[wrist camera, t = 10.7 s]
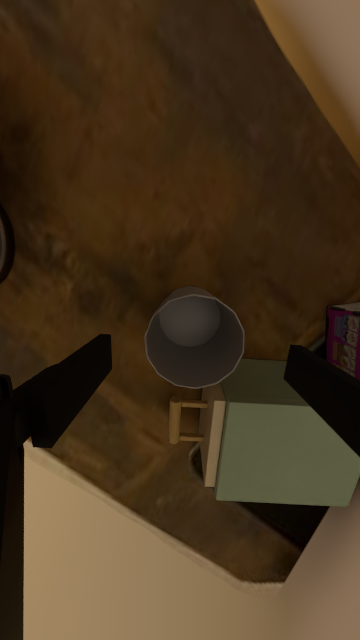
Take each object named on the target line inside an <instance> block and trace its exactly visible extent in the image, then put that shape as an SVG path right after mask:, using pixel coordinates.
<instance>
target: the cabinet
mask: <svg viewBox="0 0 360 640" xmlns="http://www.w3.org/2000/svg"><path fill="white" fill-rule="evenodd" d="M286 364H287V361H275V360H256V359H240V361H239V363H238V365H237V366H236V368H235V370H234V372H232V373H231V374H230V375H228V376H227V377H226V378H224V379H223V380H222V381H220V385H221V388H222V390H223V393H224V396H225V399H226V403H227V406H226V413H225V420H224V428H223V435H222V443H221V450H220V452H219V460H218V467H217V474H216V482H215V487H214V490H215V497H216V500H226V501H245V502H265V503H284V504H304V505H323V506H342V507H347V506H348V504H349V502H350V499H351V496H352V493H353V491H354V489H355V486H356V483H357V481H358V478H359V476H360V457H359V456H358V455H357V454H356V453H355V452H354V451H353V450H352V449H351V448H350V447H349V446H348V445H347V444H346V443H345V442H344V441H343V440H342V439H341V438H340V437H339V436H338V435H337V434H336V433H335V431H334V430H333V429H332V428H331V427H330V426H329V425H328V424H327V423H326V422H325V421H324V420H323V419H322V418H321V417H320V416H319V415H318V414H317V413H316V412H315V411H314V410H313V409H312V408H311V407H310V406H309V405H308V404H307V403H306V402H305V401H304V399H303V398H302V397H301V396H300V395H299V394H298V393H297V392H296V391H295V390H294V389H293V388H292V387H291V386H290V385H289V384H288V383H287V382H286V381H285V380H284V379H283V378H284V373H285V368H286Z"/></svg>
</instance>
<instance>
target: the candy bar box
mask: <svg viewBox="0 0 360 640" xmlns="http://www.w3.org/2000/svg"><path fill="white" fill-rule="evenodd" d="M326 361H328V362H330V363H331V364H333V365H335V366H336V367H338V368H340V369H341V370H343V371H345V372H347V373H348V374H350V375H352V376H353V377H355V378H357V379H358V380H360V302H358V303H351V304H344V305H335V306H328V308H327V332H326Z"/></svg>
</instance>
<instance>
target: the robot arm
mask: <svg viewBox="0 0 360 640" xmlns="http://www.w3.org/2000/svg"><path fill="white" fill-rule="evenodd" d="M13 252H14V243H13V235H12V230H11V227H10V223H9V221H8V218H7V216H6V213H5V211H4V209H3V208H2V206H1V204H0V283H1V282H2V281H3V279H4V278H5V277H6V275H7V273H8V271H9V269H10V267H11V263H12V259H13ZM111 370H112V353H111V335H109V334H100V335H98V336H97V337H95V338H94V339H93V340H91V341H90V342H88V343H87V344H85V345H84V346H83V347H81V348H80V349H78V350H77V351H76V352H74V353H73V354H71V355H70V356H68V357H67V358H66V359H64V360H63V361H61V362H60V363H59V364H55V365H52V366H50V367H48V368H46V369H44V370H43V371H41V372H40V373H38V375H35V376H34V377H32V378H31V379H29V380H28V381H26V382H25V383H23V384H22V385H20V386H19V387H17V388H16V389H14V390H13V388H12V383H11V378H10V376H8V375H5V374H0V640H23V580H24V578H23V577H24V574H23V573H24V570H23V569H24V564H23V563H24V447H23V443H24V442H25V441H26V440H27V439H28V438H29V437H30V436H31V438H32V444H33V447H40V448H52V447H53V445H54V444H55V443H56V442H57V440H58V439H59V438H60V436H61V435H62V434H63V432H64V431H65V430H66V428H67V427H68V426H69V425H70V423H71V422H72V421H73V419H74V418H75V417H76V415H77V414H78V413H79V411H80V410H81V409H82V408H83V406H84V405H85V404H86V402H87V401H88V400H89V398H90V397H91V396H92V394H93V393H94V392H95V391H96V389H97V388H98V387H99V385H100V384H101V383H102V381H103V380H104V379H105V377H106V376H107V375H108V373H109V372H110V371H111ZM283 379H284V380H285V381H286V382H287V383H288V384H289V385H290V386H291V387H292V388H293V389H294V390H295V391H296V392H297V393H298V394H299V395H300V396H301V397H302V398H303V399H304V401H305V402H306V403H307V404H308V405H309V406H310V407H311V408H312V409H313V410H314V411H315V412H316V413H317V414H318V415H319V416H320V417H321V418H322V419H323V420H324V421H325V422H326V423H327V424H328V425H329V426H330V427H331V428H332V429H333V430H334V431H335V433H336V434H337V435H338V436H339V437H340V438H341V439H342V440H343V441H344V442H345V443H346V444H347V445H348V446H349V447H350V448H351V449H352V450H353V451H354V452H355V453H356V454H357V455H358V456H359V457H360V380H358V379H357V378H355V377H353V376H352V375H350V374H348V373H347V372H345V371H343V370H341V369H340V368H338V367H336V366H335V365H333V364H331V363H330V362H328V361H326V360H325V359H323V358H321V357H320V356H318V355H316V354H315V353H313V352H311V351H310V350H308V349H306V348H305V347H303V346H301V345H290V349H289V354H288V359H287V364H286V368H285V373H284V378H283Z"/></svg>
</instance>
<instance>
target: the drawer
mask: <svg viewBox="0 0 360 640" xmlns="http://www.w3.org/2000/svg"><path fill="white" fill-rule="evenodd" d="M181 406H182V407H198V408H201V409H200V420H199V434H191V433H180V417H181ZM226 406H227V403H226V399H225V396H224V393H223V390H222V388H221V385H220V382H219V383H218V384H215V385H211V386H207V387H203V388H202V399H201V400H182V399H181V397H179V396H172V397H171V398H170V411H169V432H168V441H169V442H170V443H171V444H176V443H178V441H179V440H185V441H200V448H201V458H202V467H203V477H204V486H209V487H215V482H216V474H217V467H218V460H219V452H220V450H221V443H222V435H223V428H224V420H225V413H226Z"/></svg>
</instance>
